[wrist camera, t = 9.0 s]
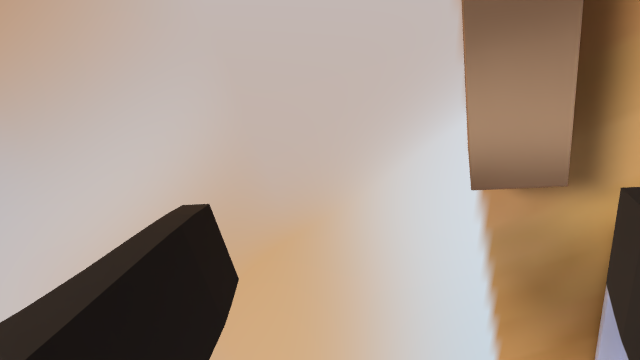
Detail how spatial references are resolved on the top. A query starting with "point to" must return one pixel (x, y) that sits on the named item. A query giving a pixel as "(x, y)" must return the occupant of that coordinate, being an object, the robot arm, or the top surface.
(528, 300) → the top surface
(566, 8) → the brown rectangular block
